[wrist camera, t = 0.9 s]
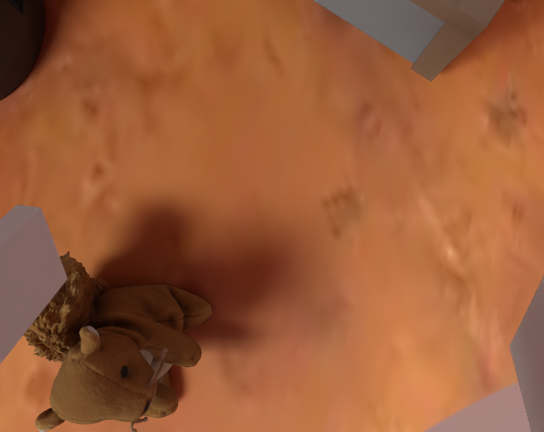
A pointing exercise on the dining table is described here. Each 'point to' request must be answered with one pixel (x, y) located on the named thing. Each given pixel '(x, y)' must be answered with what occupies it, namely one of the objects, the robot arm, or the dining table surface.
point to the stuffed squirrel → (114, 348)
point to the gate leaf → (419, 26)
